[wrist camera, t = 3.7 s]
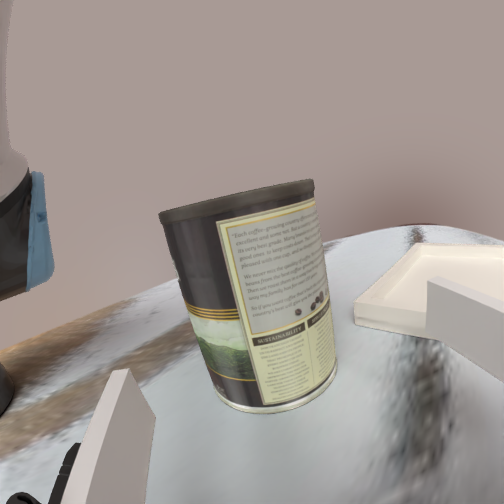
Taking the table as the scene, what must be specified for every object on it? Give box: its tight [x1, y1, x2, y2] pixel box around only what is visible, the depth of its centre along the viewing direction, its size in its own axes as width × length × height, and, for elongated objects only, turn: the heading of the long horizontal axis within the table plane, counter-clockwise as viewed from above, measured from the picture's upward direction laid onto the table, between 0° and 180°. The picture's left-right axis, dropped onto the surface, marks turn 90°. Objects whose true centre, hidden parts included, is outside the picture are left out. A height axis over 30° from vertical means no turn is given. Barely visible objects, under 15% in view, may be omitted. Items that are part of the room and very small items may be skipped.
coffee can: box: [158, 179, 337, 414], centre depth 19 cm, size 10×10×14 cm
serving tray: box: [354, 243, 504, 340], centre depth 22 cm, size 20×20×2 cm
